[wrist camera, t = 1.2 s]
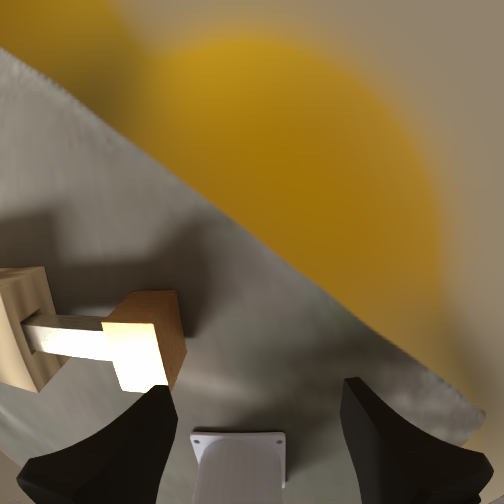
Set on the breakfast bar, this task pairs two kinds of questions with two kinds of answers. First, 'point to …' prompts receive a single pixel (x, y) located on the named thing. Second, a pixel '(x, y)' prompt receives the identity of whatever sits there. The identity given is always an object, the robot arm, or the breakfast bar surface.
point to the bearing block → (10, 332)
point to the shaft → (120, 338)
